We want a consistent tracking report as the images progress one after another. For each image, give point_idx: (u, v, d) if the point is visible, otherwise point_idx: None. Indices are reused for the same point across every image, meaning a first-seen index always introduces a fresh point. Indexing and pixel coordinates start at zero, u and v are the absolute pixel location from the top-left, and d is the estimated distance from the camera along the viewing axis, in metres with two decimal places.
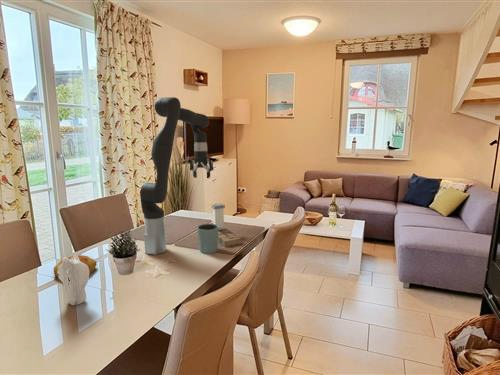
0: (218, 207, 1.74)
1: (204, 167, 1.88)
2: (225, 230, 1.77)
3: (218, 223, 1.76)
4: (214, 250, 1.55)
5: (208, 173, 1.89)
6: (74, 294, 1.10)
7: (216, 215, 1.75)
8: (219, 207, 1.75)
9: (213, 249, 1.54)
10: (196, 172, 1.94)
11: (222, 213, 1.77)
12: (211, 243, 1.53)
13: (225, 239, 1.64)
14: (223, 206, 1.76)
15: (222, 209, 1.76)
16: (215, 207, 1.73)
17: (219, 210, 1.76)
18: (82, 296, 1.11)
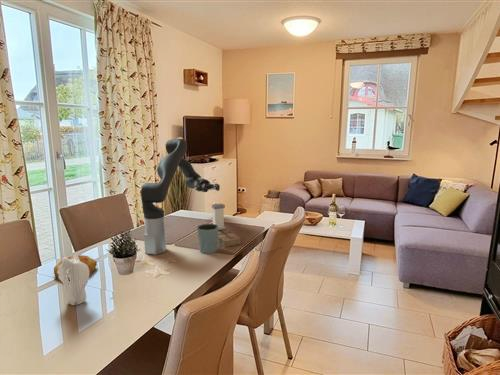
0: (218, 207, 1.74)
1: (212, 184, 1.88)
2: (225, 230, 1.77)
3: (218, 223, 1.76)
4: (214, 250, 1.55)
5: None
6: (74, 294, 1.10)
7: (216, 215, 1.75)
8: (219, 207, 1.75)
9: (213, 249, 1.54)
10: None
11: (222, 213, 1.77)
12: (211, 243, 1.53)
13: (225, 239, 1.64)
14: (223, 206, 1.76)
15: (222, 209, 1.76)
16: (215, 207, 1.73)
17: (219, 210, 1.76)
18: (82, 296, 1.11)
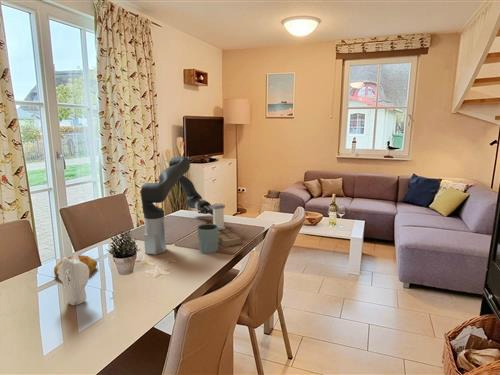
0: (218, 207, 1.74)
1: (210, 207, 1.90)
2: (225, 230, 1.77)
3: (218, 223, 1.76)
4: (214, 250, 1.55)
5: None
6: (74, 294, 1.10)
7: (216, 215, 1.75)
8: (219, 207, 1.75)
9: (213, 249, 1.54)
10: None
11: (222, 213, 1.77)
12: (211, 243, 1.53)
13: (225, 239, 1.64)
14: (223, 206, 1.76)
15: (222, 209, 1.76)
16: (215, 207, 1.73)
17: (219, 210, 1.76)
18: (82, 296, 1.11)
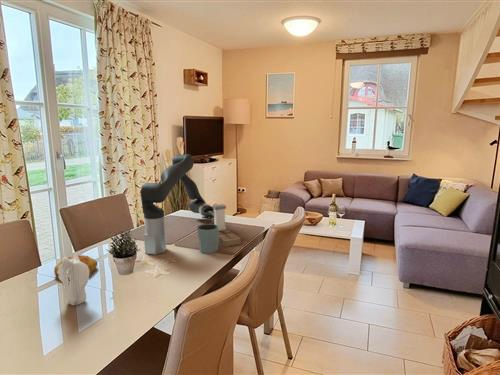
0: (219, 208, 1.73)
1: None
2: (225, 230, 1.77)
3: (219, 224, 1.75)
4: (214, 250, 1.55)
5: None
6: (74, 294, 1.10)
7: (217, 216, 1.74)
8: (220, 208, 1.73)
9: (213, 249, 1.54)
10: None
11: (223, 214, 1.75)
12: (211, 243, 1.53)
13: (225, 239, 1.64)
14: (224, 207, 1.74)
15: (223, 210, 1.75)
16: (216, 208, 1.72)
17: (221, 211, 1.74)
18: (82, 296, 1.11)
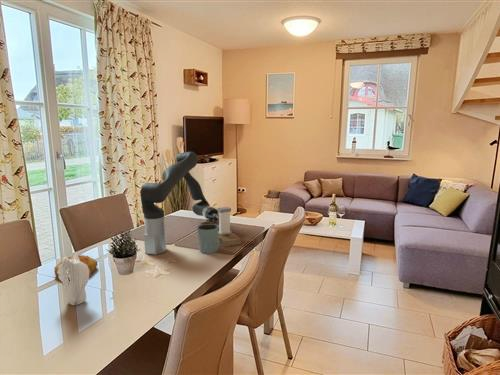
0: (224, 210, 1.67)
1: None
2: None
3: (224, 227, 1.70)
4: (214, 250, 1.55)
5: None
6: (74, 294, 1.10)
7: (222, 219, 1.68)
8: (225, 210, 1.68)
9: (213, 249, 1.54)
10: None
11: (228, 217, 1.70)
12: (211, 243, 1.53)
13: (225, 239, 1.64)
14: (229, 209, 1.69)
15: (228, 213, 1.69)
16: (221, 211, 1.67)
17: (226, 214, 1.69)
18: (82, 296, 1.11)
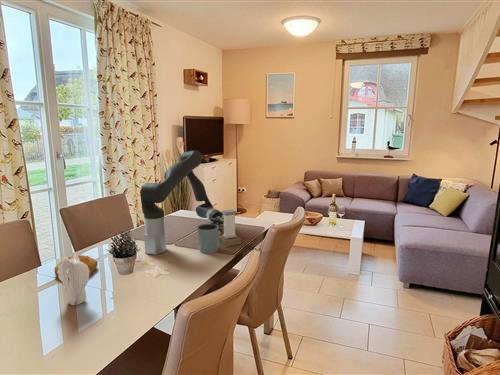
0: (229, 213, 1.62)
1: None
2: None
3: (229, 230, 1.64)
4: (214, 250, 1.55)
5: None
6: (74, 294, 1.10)
7: (227, 222, 1.63)
8: (230, 213, 1.62)
9: (213, 249, 1.54)
10: None
11: (233, 220, 1.64)
12: (211, 243, 1.53)
13: (225, 239, 1.64)
14: (234, 212, 1.63)
15: (233, 215, 1.64)
16: (226, 213, 1.61)
17: (231, 217, 1.63)
18: (82, 296, 1.11)
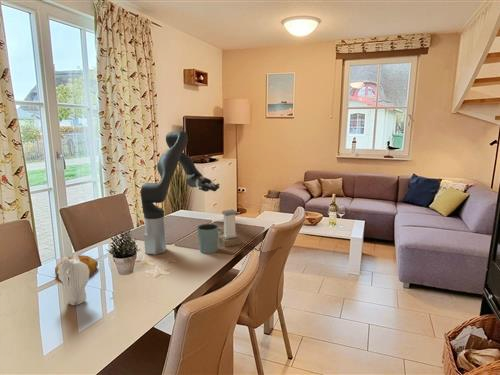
0: (229, 213, 1.62)
1: (211, 183, 1.81)
2: None
3: (229, 231, 1.64)
4: (214, 250, 1.55)
5: (214, 187, 1.77)
6: (74, 294, 1.10)
7: (227, 222, 1.63)
8: (230, 213, 1.62)
9: (213, 249, 1.54)
10: None
11: (234, 220, 1.64)
12: (211, 243, 1.53)
13: (225, 239, 1.64)
14: (235, 212, 1.63)
15: (234, 216, 1.64)
16: (226, 214, 1.61)
17: (231, 217, 1.63)
18: (82, 296, 1.11)
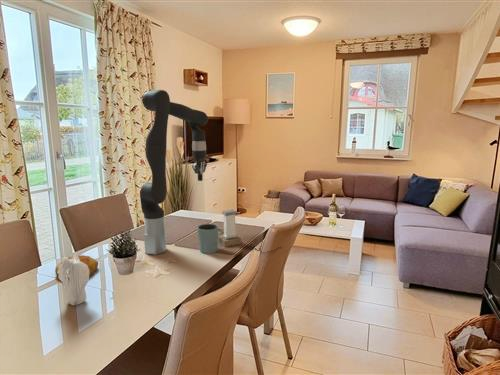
0: (229, 213, 1.62)
1: (203, 168, 1.80)
2: None
3: (229, 231, 1.64)
4: (214, 250, 1.55)
5: None
6: (74, 294, 1.10)
7: (227, 222, 1.63)
8: (230, 213, 1.62)
9: (213, 249, 1.54)
10: None
11: (234, 220, 1.64)
12: (211, 243, 1.53)
13: (225, 239, 1.64)
14: (235, 212, 1.63)
15: (234, 216, 1.64)
16: (226, 214, 1.61)
17: (231, 217, 1.63)
18: (82, 296, 1.11)
